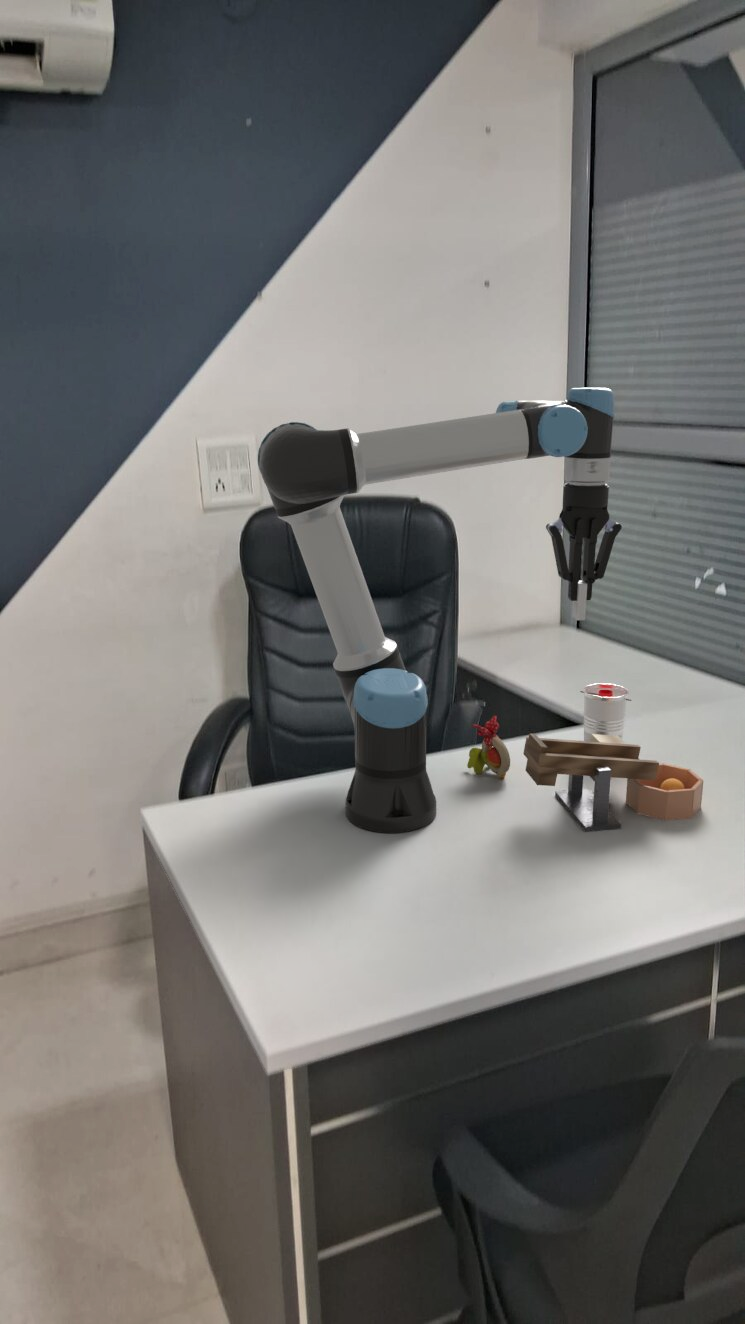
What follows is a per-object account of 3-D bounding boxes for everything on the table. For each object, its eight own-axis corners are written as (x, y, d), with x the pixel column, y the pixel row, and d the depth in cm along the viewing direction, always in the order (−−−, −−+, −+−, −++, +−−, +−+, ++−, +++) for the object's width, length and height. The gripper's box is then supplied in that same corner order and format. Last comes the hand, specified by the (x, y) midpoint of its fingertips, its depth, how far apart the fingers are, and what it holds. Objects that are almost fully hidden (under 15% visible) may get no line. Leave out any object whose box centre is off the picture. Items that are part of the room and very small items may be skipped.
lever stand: (585, 831, 158) (588, 773, 155) (555, 795, 171) (557, 741, 168) (621, 828, 158) (625, 770, 156) (588, 792, 172) (591, 738, 169)
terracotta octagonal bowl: (618, 808, 165) (620, 781, 164) (642, 785, 174) (644, 759, 173) (685, 825, 159) (687, 797, 158) (707, 800, 168) (709, 773, 167)
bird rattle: (513, 783, 181) (483, 751, 186) (532, 739, 174) (500, 707, 180) (487, 792, 177) (458, 759, 183) (506, 747, 171) (474, 714, 176)
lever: (537, 788, 157) (544, 750, 155) (506, 750, 172) (512, 715, 170) (653, 795, 161) (661, 758, 159) (612, 757, 176) (620, 723, 174)
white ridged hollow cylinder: (634, 747, 192) (638, 688, 188) (620, 761, 185) (624, 701, 181) (585, 737, 197) (588, 680, 193) (569, 751, 190) (572, 692, 186)
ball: (685, 801, 167) (663, 808, 167) (675, 780, 169) (653, 786, 169) (691, 794, 164) (668, 800, 163) (681, 772, 166) (659, 778, 165)
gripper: (555, 486, 162) (549, 625, 169) (631, 484, 164) (622, 622, 171) (542, 480, 169) (536, 614, 176) (615, 479, 171) (606, 611, 178)
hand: (578, 618), depth 174 cm, fingers closed
